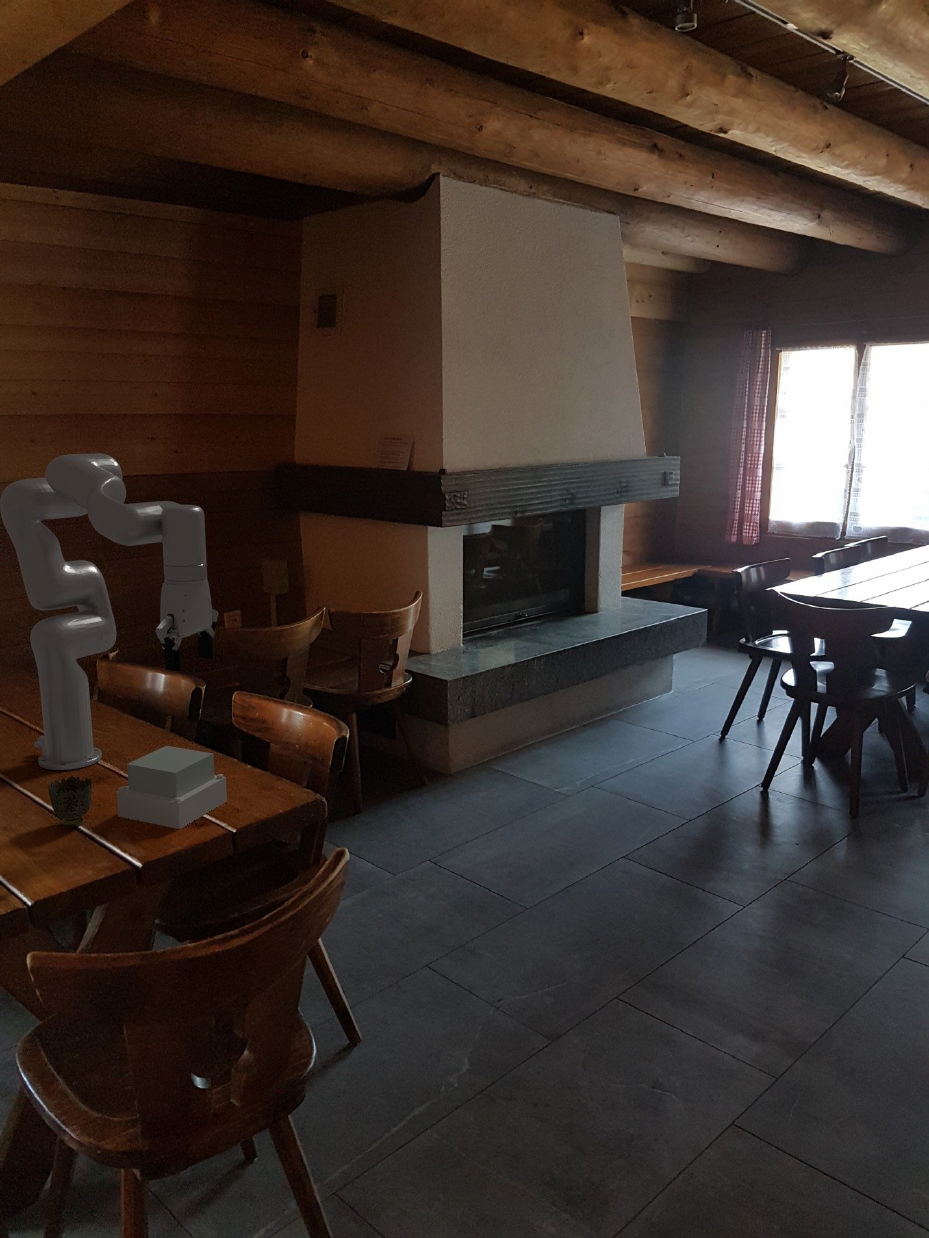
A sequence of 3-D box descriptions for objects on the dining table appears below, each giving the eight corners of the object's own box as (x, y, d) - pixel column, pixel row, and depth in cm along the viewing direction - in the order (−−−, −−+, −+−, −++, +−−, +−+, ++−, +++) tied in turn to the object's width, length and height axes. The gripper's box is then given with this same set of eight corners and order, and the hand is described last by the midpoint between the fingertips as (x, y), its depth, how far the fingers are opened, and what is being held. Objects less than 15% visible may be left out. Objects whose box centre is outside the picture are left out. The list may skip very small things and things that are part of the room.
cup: (103, 819, 180) (100, 778, 178) (76, 835, 173) (72, 793, 171) (70, 813, 182) (67, 773, 181) (42, 829, 175) (38, 787, 174)
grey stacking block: (118, 816, 181) (114, 765, 179) (168, 790, 194) (165, 742, 192) (179, 829, 176) (176, 776, 174) (226, 801, 189) (224, 752, 186)
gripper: (197, 565, 188) (201, 651, 191) (137, 579, 172) (143, 673, 176) (230, 567, 185) (234, 655, 189) (173, 582, 169) (178, 677, 173)
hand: (190, 663), depth 182 cm, fingers open, 9 cm apart
